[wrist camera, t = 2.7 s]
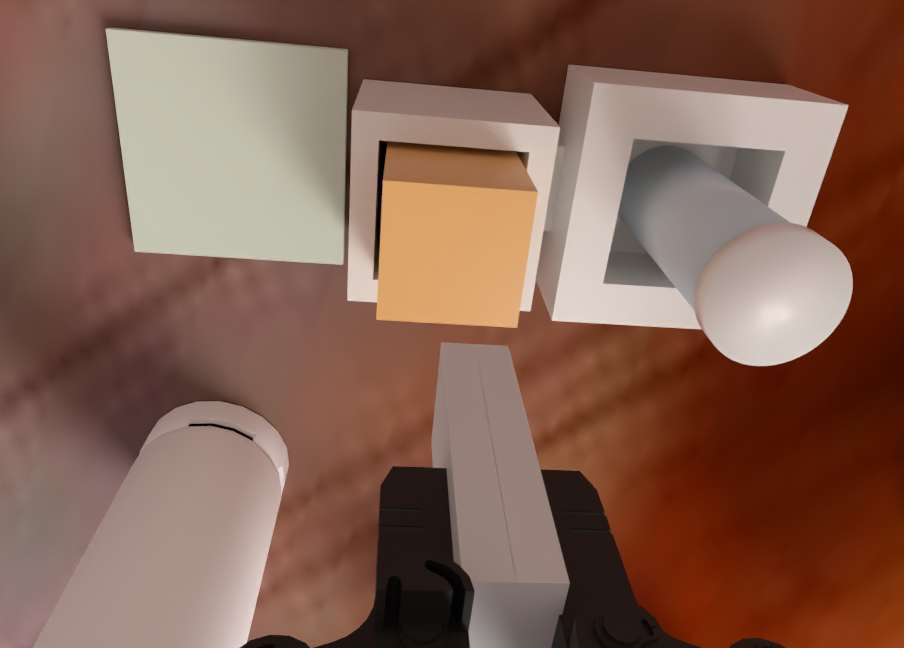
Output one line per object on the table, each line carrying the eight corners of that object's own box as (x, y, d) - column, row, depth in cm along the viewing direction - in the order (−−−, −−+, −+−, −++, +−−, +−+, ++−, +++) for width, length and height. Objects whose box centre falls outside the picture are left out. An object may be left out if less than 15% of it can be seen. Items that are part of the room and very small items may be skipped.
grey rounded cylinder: (722, 145, 32) (875, 238, 22) (695, 242, 34) (822, 369, 24) (621, 137, 32) (728, 228, 21) (602, 235, 34) (688, 362, 23)
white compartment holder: (788, 84, 32) (878, 115, 26) (726, 287, 37) (789, 355, 31) (364, 45, 30) (352, 68, 24) (357, 264, 35) (346, 330, 29)
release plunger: (507, 135, 29) (537, 191, 22) (493, 245, 32) (516, 327, 25) (389, 125, 29) (382, 180, 22) (383, 237, 31) (376, 319, 24)
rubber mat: (348, 49, 30) (347, 50, 30) (343, 260, 35) (342, 264, 34) (110, 27, 29) (105, 28, 29) (138, 246, 34) (134, 251, 33)
